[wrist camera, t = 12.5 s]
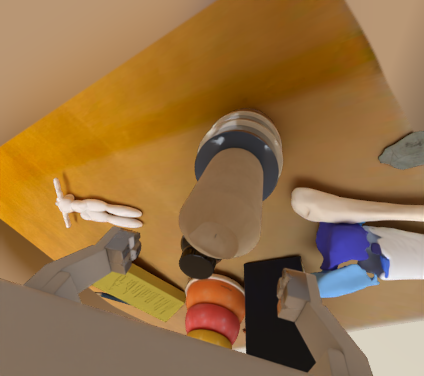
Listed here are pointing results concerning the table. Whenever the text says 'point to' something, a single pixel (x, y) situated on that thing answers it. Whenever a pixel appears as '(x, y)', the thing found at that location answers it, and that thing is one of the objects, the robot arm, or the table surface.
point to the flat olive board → (143, 292)
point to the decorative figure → (96, 210)
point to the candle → (225, 206)
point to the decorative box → (272, 317)
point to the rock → (405, 152)
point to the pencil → (110, 297)
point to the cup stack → (245, 143)
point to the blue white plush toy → (360, 241)
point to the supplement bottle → (196, 262)
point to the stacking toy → (214, 309)
